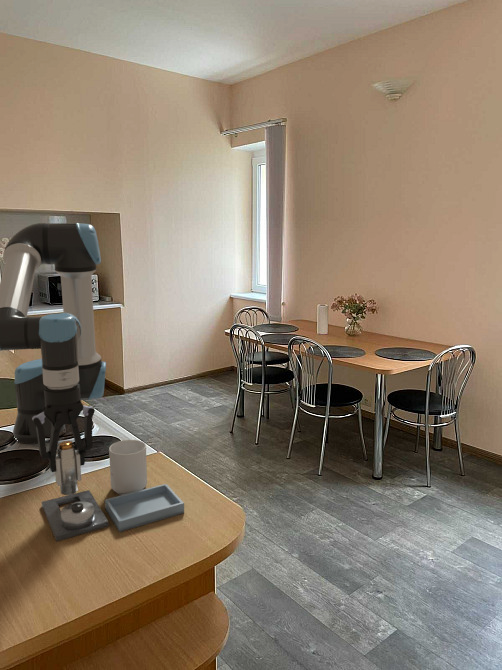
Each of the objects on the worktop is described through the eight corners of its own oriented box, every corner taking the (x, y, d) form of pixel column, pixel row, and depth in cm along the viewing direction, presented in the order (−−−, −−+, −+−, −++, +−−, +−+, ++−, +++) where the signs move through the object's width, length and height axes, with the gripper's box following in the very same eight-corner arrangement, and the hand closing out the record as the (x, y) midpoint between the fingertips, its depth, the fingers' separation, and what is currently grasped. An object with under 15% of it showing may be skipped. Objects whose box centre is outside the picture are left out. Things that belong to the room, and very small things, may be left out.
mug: (150, 493, 131) (148, 451, 128) (113, 499, 128) (111, 456, 125) (142, 472, 142) (140, 433, 139) (108, 477, 139) (106, 437, 136)
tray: (119, 532, 114) (119, 521, 114) (105, 509, 123) (104, 499, 123) (184, 512, 122) (184, 503, 122) (166, 492, 131) (166, 483, 130)
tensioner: (41, 506, 124) (40, 488, 123) (89, 494, 130) (88, 477, 129) (56, 541, 111) (55, 521, 110) (108, 526, 116) (107, 507, 115)
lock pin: (58, 489, 124) (55, 442, 121) (75, 485, 126) (72, 439, 123) (62, 496, 121) (59, 448, 118) (79, 492, 123) (76, 445, 120)
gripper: (23, 395, 110) (32, 497, 115) (104, 383, 118) (109, 478, 124) (18, 385, 116) (26, 482, 121) (95, 374, 125) (100, 465, 130)
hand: (68, 480), depth 123 cm, fingers closed on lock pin, 4 cm apart
